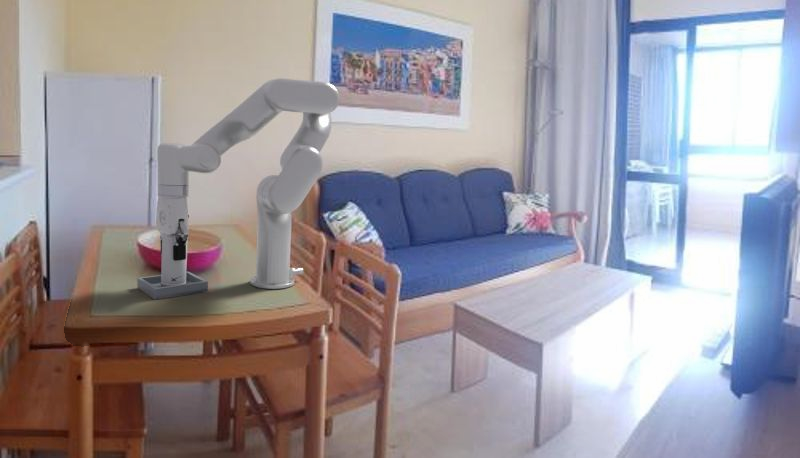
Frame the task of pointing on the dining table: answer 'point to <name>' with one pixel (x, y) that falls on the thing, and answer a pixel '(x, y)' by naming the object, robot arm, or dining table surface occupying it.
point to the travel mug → (172, 263)
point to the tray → (155, 290)
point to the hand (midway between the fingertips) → (173, 256)
